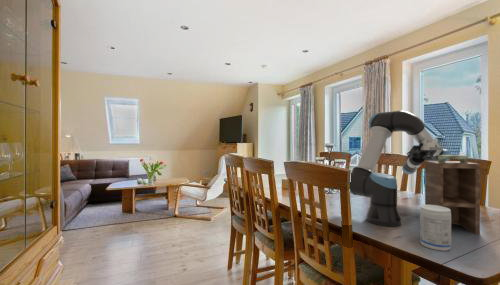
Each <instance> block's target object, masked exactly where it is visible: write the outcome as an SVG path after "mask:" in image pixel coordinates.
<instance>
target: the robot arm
mask: <svg viewBox="0 0 500 285" xmlns="http://www.w3.org/2000/svg"><path fill="white" fill-rule="evenodd" d="M368 128H369V132H370V133H371V134H370V136H369V138H368V141H367V143H366V146H365V148H364V150H363V152H362V155H361V157H360V158H359V162H358V163H357V166H354V167H353V168H352V171H350V172H351V182H350V193H349V194H351V195H354V196H361V197H365V198H370V199H369V200H370V204H369V208H368V211H367V212H366V221H367V222H369V223H371V224H373V225H378V226H381V227H382V226H384V227H398V226H401V225H402V217H401V215H400V211H399V210H398V181H397V180H398V179H397V178H396V177H395V176H393V175H391V174H387V173H382V172H381V173H380V172H375V169H376V167H377V164H378V161H379V160H380V157H381V154H382V152H383V150H384V147H385V144H386V142H387V139H390V138H391V137H392V136H393V133H394V132H404V133H406V134H407V135H409V136H411V137H412V138H413V139H414V140H415V142H417V144H414V145H412V146H411V147H410V150H409V151H408V152H407V153H406V154H407V155H406V156H407V157H406V159H405V161H404V164H403V165H402V168H401V170H402V172H403V173H404V174H406V175H413V174H415V173H416V171H417V170H418V169H419V168H420V167H421V166H422V165H423V163H425V161H438V155H452V154H451V151H450V149H445V148H443V150H421V149H423V148H424V147H425V146H426V144H427V143H435V147H441V146H440V145H439V144H438V141H437V138H434V137H433V136H432V135H431V134H430V132H429V131H428V130H427V129H426V124H425V122H423V120H422V119H421V118H420V117H418V116H417V115H415V114H413V113H411V112H410V111H406V110H396V111H395V110H393V111H384V112H376V113H374V114H373V115H371V117H370V118H369V121H368ZM445 161H451V159H445Z"/></svg>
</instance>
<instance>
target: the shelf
mask: <svg viewBox="0 0 500 285" xmlns="http://www.w3.org/2000/svg"><path fill="white" fill-rule="evenodd" d="M445 159H450V160H449V161H445ZM452 160H453V161H452ZM457 160H458V161H457ZM480 168H481V163H477V162H469V156H468V155H465V154H463V155H462V154H459V155H458V154H454V155H453V154H451V155H438V161H424V179H425V180H424V205H438V206H443V207H446V208H449V209H450V210H451V225H459V226H461V227H463V228H465V229H466V230H468V231H470V232H472V233H474V234H475V235H481V214H480V213H481V190H480V189H481V186H480V185H481V170H480Z"/></svg>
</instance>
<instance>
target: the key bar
mask: <svg viewBox="0 0 500 285" xmlns="http://www.w3.org/2000/svg"><path fill="white" fill-rule="evenodd" d="M443 147H444V146H443ZM443 147H442V146H440V147H435V143H427V144H426V146H425V147H424V148H423V149H421V150H443V149H444V148H443Z"/></svg>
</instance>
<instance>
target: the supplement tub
mask: <svg viewBox="0 0 500 285" xmlns="http://www.w3.org/2000/svg"><path fill="white" fill-rule="evenodd" d="M419 208H420V209H419V243H421V245H422V246H423V247H425V248H428V249H430V250H435V251H439V252H441V251H442V252H443V251H444V252H446V251H450V250H451V249H452V224H451V210H450V209H449V208H446V207H443V206H438V205H425V204H421V205H420V207H419Z"/></svg>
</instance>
